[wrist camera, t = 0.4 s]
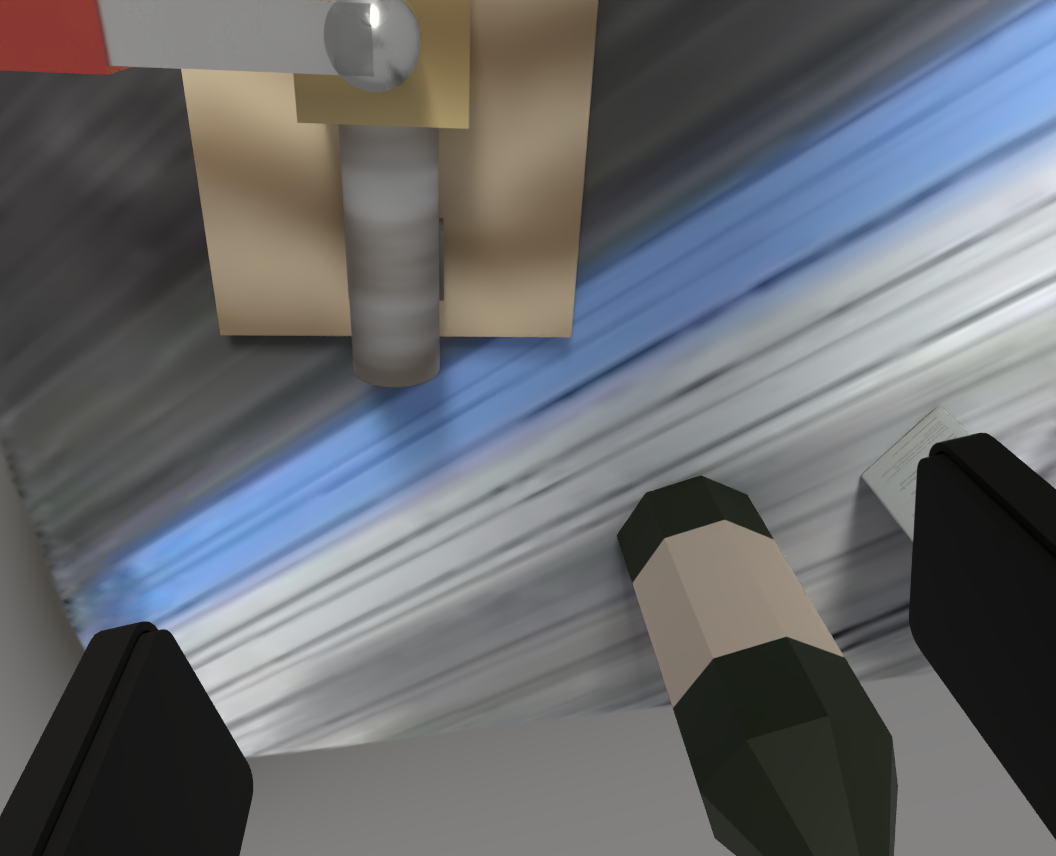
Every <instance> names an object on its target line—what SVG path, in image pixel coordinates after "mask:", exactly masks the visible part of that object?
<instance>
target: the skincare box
mask: <svg viewBox="0 0 1056 856" xmlns="http://www.w3.org/2000/svg"><path fill="white" fill-rule="evenodd" d="M969 435H971V434H969V433H968V432H967V431H966V430H965V429H964V428H963V427H962V426H961V425H960V424H959V423H958V422H957V421H956V420H954V419H953V418H952V417H951V416H950V415H949V414H948V413H947V412H946V411H945V410H944V409H942V408H941V407H938V408H936V409H934V410H933V411H932V412H931V413H930V414H929V415H928V416H926V417H925V418H924V419H923V420H922V421H921V422H920V423H919V424H918V425H916V426H915V427H914V428H913V429H912V430H911V431H910V432H909V433H908V434H906V435H905V436H904V437H903V438H902V439H901V440H900V441H899V442H898V443H896V444H895V445H894V446H893V447H892V448H891V449H890V450H889V451H887V452H886V453H885V454H884V455H883V456H882V457H881V458H880V459H878V460H877V461H876V462H875V463H874V464H873V465H872V466H871V467H870V468H869V469H867V470H866V471H865V472H864V473H863V474H862V476H861V478H862V479H863V480H864V481H865V482H866V484H867V485H868V486H869V487H870V489H871V490H872V491H873V492H874V494H875V495H876V496H877V498H878V499H879V500H880V501H881V503H882V504H883V505H884V507H885V508H886V509H887V510H888V512H889V513H890V514H891V516H892V517H893V518H894V519H895V521H896V522H897V523H898V525H899V526H900V527H901V528H902V530H903V531H904V532H905V534H906V535H907V536H908V537H909V539H910V540H911V541H912V543H913V533H914V515H915V496H916V477H917V466H918V463H919V461H920V460H921V459H923V458H926V457H929V451H930V449H931V447H932V446H933V445H934V444H936V443H937V442H942V441H946V440H951V439H955V438H960V437H964V436H969Z"/></svg>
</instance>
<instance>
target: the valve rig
mask: <svg viewBox="0 0 1056 856" xmlns="http://www.w3.org/2000/svg"><path fill="white" fill-rule="evenodd" d="M406 1H407V2H408V3H409V4H410V6H411V7H412V9H413V10H414V12H415V14H416V16H417V18H418V21H419V24H420V29H421V37H422V39H421V49H420V54H419V58H418V62H417V64H416V66H415V69H414V70H413V72H412V74H411V75H410V76H409V77H408V78H407V79H406V80H405V81H404V82H403V83H402V84H400V85H399V86H397V87H395V88H393V89H391V90H388V91H383V92H369V91H365V90H361V89H359V88H356V87H354V86H352V85H351V84H349V83H348V82H346V81H345V80H344V79H343V78H342V77H341V76H340V75H323V74H299V73H274V72H250V71H226V70H202V69H181V70H182V77H183V84H184V91H185V98H186V104H187V111H188V118H189V125H190V132H191V138H192V145H193V152H194V159H195V165H196V172H197V179H198V186H199V193H200V199H201V206H202V213H203V220H204V227H205V233H206V240H207V247H208V254H209V261H210V267H211V274H212V281H213V288H214V295H215V301H216V308H217V315H218V322H219V328H220V335H269V336H352V352H353V368H354V373H355V375H356V376H357V377H358V378H359V379H360V380H362V381H364V382H366V383H369V384H372V385H377V386H382V387H408V386H414V385H418V384H422V383H425V382H427V381H429V380H431V379H433V378H434V377H435V376H437V374H438V373H439V370H440V337H571V335H572V322H573V310H574V298H575V285H576V273H577V260H578V248H579V236H580V223H581V211H582V198H583V186H584V174H585V161H586V149H587V136H588V124H589V112H590V99H591V87H592V74H593V62H594V50H595V37H596V25H597V12H598V0H406Z"/></svg>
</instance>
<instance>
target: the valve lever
mask: <svg viewBox="0 0 1056 856" xmlns="http://www.w3.org/2000/svg"><path fill="white" fill-rule="evenodd" d="M421 39H422V37H421V29H420V24H419V21H418V18H417V16H416V14H415V12H414V10H413V9H412V7H411V6H410V4H409V3H408V2H407V1H406V0H0V70H7V71H32V72H56V73H81V74H106V75H108V74H111V73H114V72H118V71H121V70H124V69H128V68H131V67H153V68H178V69H202V70H226V71H250V72H274V73H299V74H323V75H340V76H341V77H342V78H343V79H344V80H345V81H346V82H348V83H349V84H351V85H352V86H354V87H356V88H359V89H361V90H365V91H369V92H383V91H388V90H391V89H393V88H395V87H397V86H399V85H400V84H402V83H403V82H404V81H405V80H406V79H407V78H408V77H409V76H410V75H411V74H412V72H413V70H414V69H415V66H416V64H417V62H418V58H419V54H420V49H421Z"/></svg>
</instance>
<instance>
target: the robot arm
mask: <svg viewBox="0 0 1056 856" xmlns="http://www.w3.org/2000/svg"><path fill="white" fill-rule="evenodd" d="M909 623H910V628H911V632H912V635H913V637H914V640H915V642H916V644H917V645H918V647H919V649H920V650H921V652H922V653H923V654H924V656H925V657H926V659H927V660H928V661H929V663H930V664H931V666H932V667H933V668H934V670H935V671H936V673H937V674H938V675H939V677H940V678H941V680H942V681H943V682H944V684H945V685H946V687H947V688H948V689H949V691H950V692H951V694H952V695H953V696H954V698H955V699H956V701H957V702H958V704H959V705H960V706H961V708H962V709H963V710H964V712H965V713H966V715H967V716H968V717H969V719H970V720H971V722H972V723H973V725H974V726H975V727H976V729H977V730H978V732H979V733H980V734H981V736H982V737H983V739H984V740H985V741H986V743H987V744H988V746H989V747H990V748H991V750H992V751H993V753H994V754H995V755H996V757H997V758H998V760H999V761H1000V762H1001V764H1002V765H1003V767H1004V768H1005V769H1006V771H1007V772H1008V774H1009V775H1010V776H1011V778H1012V779H1013V780H1014V782H1015V783H1016V785H1017V786H1018V788H1019V789H1020V790H1021V792H1022V793H1023V795H1024V796H1025V797H1026V799H1027V800H1028V801H1029V803H1030V804H1031V806H1032V807H1033V809H1034V810H1035V811H1036V813H1037V814H1038V815H1039V817H1040V818H1041V820H1042V821H1043V823H1044V824H1045V825H1046V827H1047V828H1048V830H1049V831H1050V832H1051V834H1052V835H1053V837H1054V838H1055V839H1056V489H1055V488H1054V487H1052V486H1051V485H1050V484H1049V483H1048V482H1046V481H1045V480H1044V479H1043V478H1042V477H1040V476H1039V475H1038V474H1037V473H1036V472H1034V471H1033V470H1032V469H1031V468H1030V467H1028V466H1027V465H1026V464H1025V463H1024V462H1022V461H1021V460H1020V459H1019V458H1018V457H1016V456H1015V455H1014V454H1013V453H1012V452H1011V451H1009V450H1008V449H1007V448H1006V447H1005V446H1003V445H1002V444H1001V443H1000V442H999V441H997V440H996V439H995V438H994V437H992V436H990V435H989V434H987V433H977V434H973V435H969V436H964V437H960V438H955V439H951V440H946V441H942V442H937V443H936V444H934V445H933V446H932V447H931V449H930V451H929V457H926V458H923V459H921V460H920V461H919V463H918V466H917V477H916V496H915V515H914V533H913V552H912V571H911V589H910V608H909ZM252 795H253V779H252V773H251V769H250V767H249V764H248V763H247V761H246V759H245V757H244V756H243V754H242V752H241V751H240V749H239V747H238V745H237V744H236V742H235V740H234V739H233V737H232V735H231V734H230V732H229V730H228V728H227V727H226V725H225V723H224V722H223V720H222V718H221V717H220V715H219V713H218V711H217V710H216V708H215V706H214V705H213V703H212V701H211V700H210V698H209V696H208V694H207V693H206V691H205V689H204V688H203V686H202V684H201V682H200V681H199V679H198V677H197V676H196V674H195V672H194V671H193V669H192V667H191V665H190V664H189V662H188V660H187V659H186V657H185V655H184V654H183V652H182V650H181V648H180V647H179V645H178V643H177V642H176V640H175V638H174V637H173V635H172V634H171V633H170V632H169V631H167V630H163V629H162V630H158V629H157V628H156V626H155V625H153V624H152V623H150V622H139V623H134V624H130V625H125V626H121V627H117V628H112V629H108V630H103V631H100V632H98V633H97V634H95V635H94V637H93V638H92V639H91V641H90V643H89V645H88V646H87V648H86V650H85V652H84V654H83V656H82V658H81V661H80V662H79V664H78V666H77V668H76V670H75V672H74V674H73V676H72V678H71V680H70V682H69V683H68V685H67V687H66V689H65V691H64V693H63V695H62V697H61V699H60V701H59V703H58V705H57V707H56V709H55V711H54V713H53V715H52V717H51V718H50V720H49V723H48V724H47V726H46V728H45V730H44V732H43V734H42V736H41V738H40V740H39V742H38V744H37V746H36V748H35V750H34V752H33V754H32V755H31V758H30V759H29V761H28V763H27V765H26V767H25V769H24V771H23V773H22V775H21V777H20V779H19V781H18V783H17V785H16V787H15V789H14V790H13V793H12V794H11V796H10V798H9V800H8V802H7V804H6V806H5V808H4V810H3V812H2V814H1V816H0V856H239V855H240V850H241V846H242V841H243V837H244V832H245V828H246V823H247V819H248V814H249V809H250V805H251V801H252Z"/></svg>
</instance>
